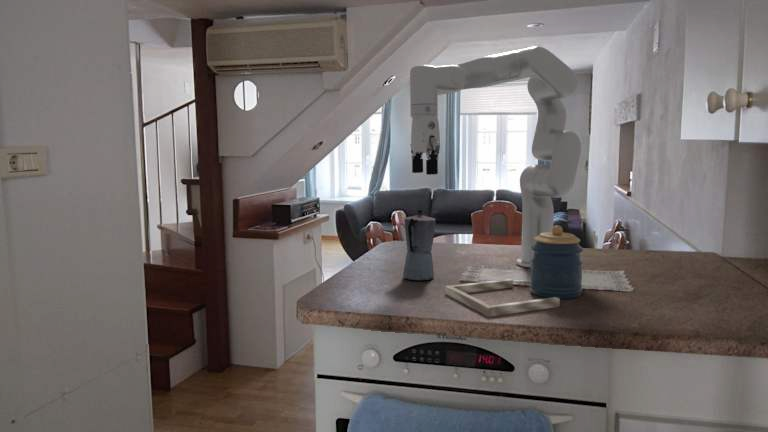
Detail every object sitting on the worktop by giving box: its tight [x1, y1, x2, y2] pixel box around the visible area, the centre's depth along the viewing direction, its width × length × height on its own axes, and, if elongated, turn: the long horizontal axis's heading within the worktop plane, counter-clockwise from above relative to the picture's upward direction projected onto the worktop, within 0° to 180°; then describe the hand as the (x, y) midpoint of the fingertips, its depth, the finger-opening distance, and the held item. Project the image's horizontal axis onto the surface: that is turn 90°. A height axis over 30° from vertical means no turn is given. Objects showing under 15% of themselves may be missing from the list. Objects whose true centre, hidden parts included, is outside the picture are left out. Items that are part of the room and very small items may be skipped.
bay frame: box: [444, 278, 561, 317], centre depth 139 cm, size 20×21×2 cm
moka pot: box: [402, 209, 437, 281], centre depth 160 cm, size 10×15×20 cm, turn 161°
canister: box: [529, 224, 584, 300], centre depth 144 cm, size 13×13×18 cm
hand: (424, 173), depth 157 cm, fingers open, 9 cm apart
